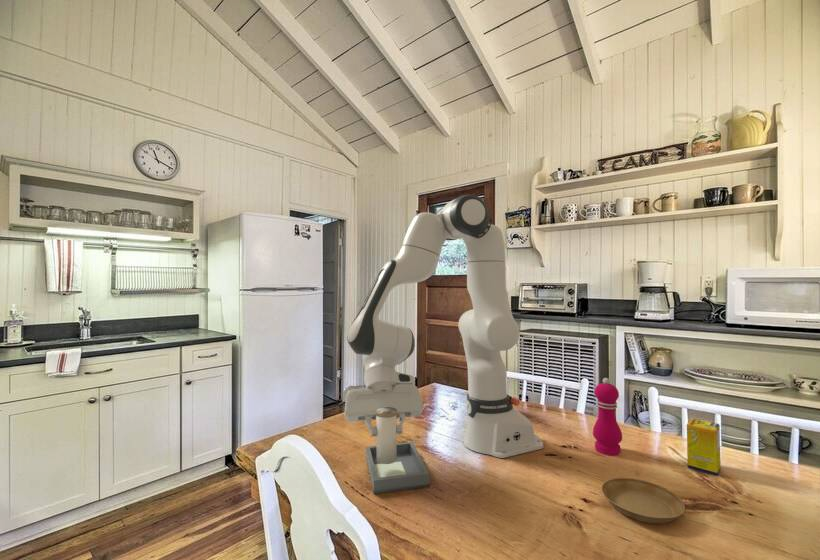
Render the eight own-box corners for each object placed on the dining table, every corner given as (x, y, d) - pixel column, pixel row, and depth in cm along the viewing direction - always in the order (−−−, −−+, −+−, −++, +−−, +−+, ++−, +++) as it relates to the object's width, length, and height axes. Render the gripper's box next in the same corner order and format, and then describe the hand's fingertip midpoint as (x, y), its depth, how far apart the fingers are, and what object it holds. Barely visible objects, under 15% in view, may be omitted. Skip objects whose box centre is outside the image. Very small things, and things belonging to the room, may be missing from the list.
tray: (412, 452, 105) (412, 441, 105) (429, 486, 87) (429, 473, 87) (365, 457, 102) (365, 446, 102) (373, 494, 85) (373, 480, 85)
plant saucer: (585, 498, 82) (585, 486, 82) (631, 482, 88) (631, 471, 88) (653, 540, 68) (653, 526, 68) (701, 518, 75) (701, 505, 75)
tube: (395, 453, 96) (394, 406, 96) (398, 463, 91) (398, 413, 91) (374, 455, 95) (374, 407, 95) (377, 465, 90) (377, 414, 90)
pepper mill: (626, 457, 100) (625, 381, 100) (597, 455, 101) (595, 380, 102) (617, 445, 107) (616, 375, 107) (590, 444, 108) (588, 374, 109)
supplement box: (691, 459, 98) (690, 417, 98) (721, 467, 94) (720, 423, 94) (686, 468, 94) (685, 424, 94) (717, 476, 90) (716, 430, 90)
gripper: (342, 380, 98) (344, 432, 88) (419, 375, 102) (428, 425, 93) (342, 392, 102) (343, 443, 93) (415, 387, 107) (424, 436, 97)
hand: (386, 434), depth 93 cm, fingers closed on tube, 5 cm apart
